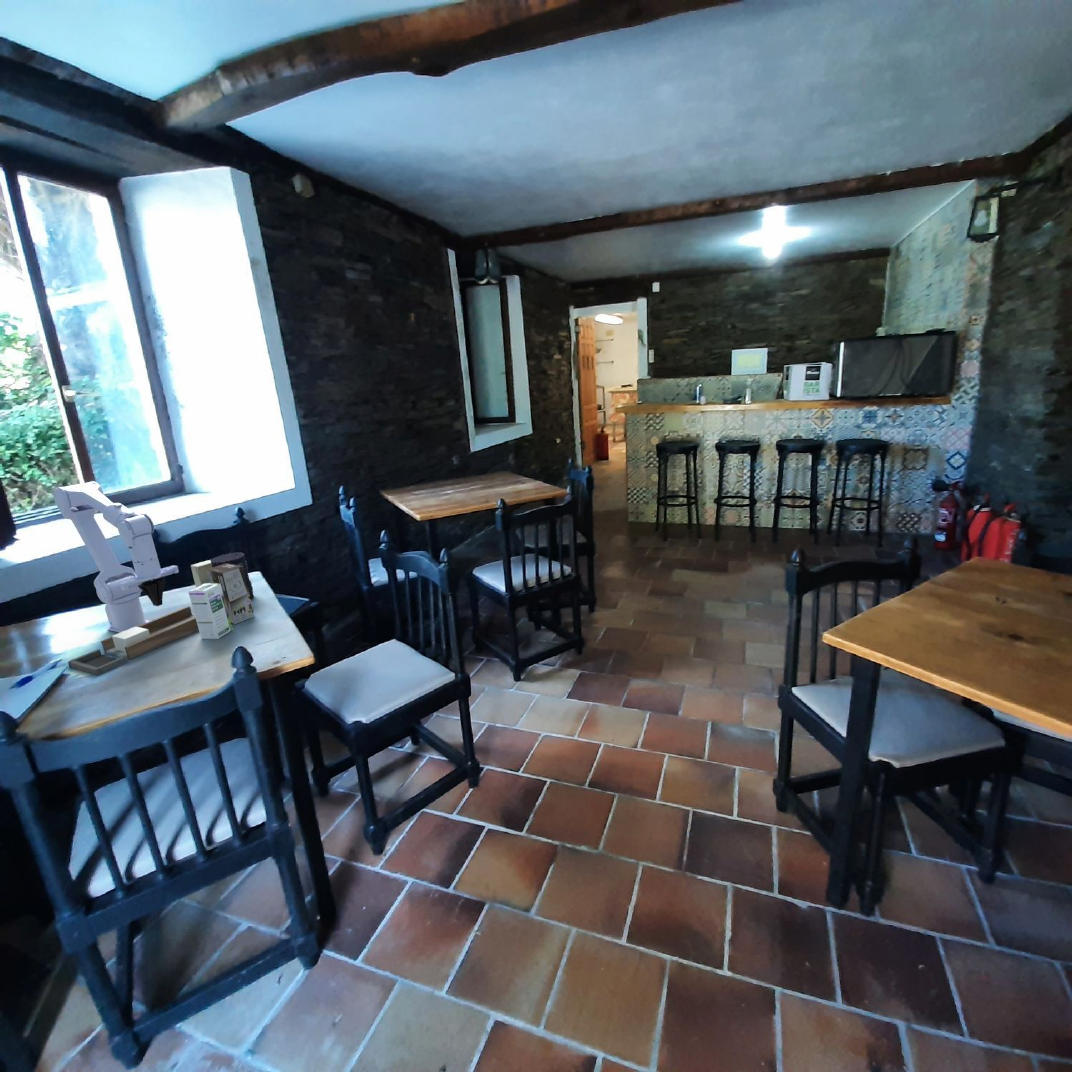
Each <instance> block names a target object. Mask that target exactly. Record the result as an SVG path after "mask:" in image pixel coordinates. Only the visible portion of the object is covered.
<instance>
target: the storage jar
mask: <svg viewBox="0 0 1072 1072" xmlns="http://www.w3.org/2000/svg"><path fill="white" fill-rule="evenodd" d="M245 555H246V554H245V553H243V552H238V551H237V552H229V553H225V554H224V553H223V554H220V555H218V556H217V555H216V556H215V557H212V558H210V560H211V563H212V568H214V567H216V566H219V565H222V564H225V563H228V564H234V565H239V566H243V569H244V573H245V578H246V582H247V586H248V591H249V595H250V599H251V601H253V599H255V595H254V591H253V590H254V589H253V585H252V581H251V580H250V577H249V576H250V575H249V566H248V563H247V560H246V556H245Z"/></svg>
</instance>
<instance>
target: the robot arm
mask: <svg viewBox="0 0 1072 1072" xmlns="http://www.w3.org/2000/svg"><path fill="white" fill-rule="evenodd" d="M53 501H54V504H55V505H56V507H57V509H58V510H59V512H60V514H61V515H62V517H63V519H66V520H71V522H72V524H73V526H74V527H75V529H76V531H77V533H78V535H79V536H80V538H81V540H82V541H83V544H84V545H85V548H86V549H87V551H88V552H89V555H91V557H92V559H93V561H94V563H95V565H96V566H97V568H98V570H99V573H98V575H97V576H96V578H95V579H94V580H93V586H94V587H95V590H96V595H97V597H98V598H99V600H100V601H101V602H102V603H104V604H105V606H104V607H105V608H104V611H105V614H106V617H107V621H108V624H109V627H107V628H106V629H107V631H110V632H111V631H112V632H116V633H121V632H123V631H126V630H128V629H131V628H133V627H137V626H140V625H142V624H145V623H147V622H150V621H151V620H148V619H146V618H145V617H146V616H145V614H144V610H143V606H142V604H141V603H142V602H141V600H140V596H141V595H142V594H141V593H144V594H145V595H146V596H147V597H148V598H149V601H150V602H151V604H152V606H155V607H159V606H162V605H163V599H164V598H163V596H164V590H165V586H166V584H167V579H166V578H164V577H167V576H169V575H170V576H171V575H172V574H178V573H179V572H180V571H179V566H178V565H170V566H166V567H163V568H161V565H160V562H159V558H158V554H157V551H156V547H155V544H154V539H153V536H152V534H154V532H155V525H154V522H153V520H152V518H151V517H150V516H149V515H148V514H147V513H136V512H134V511H133V510H131V509H130V508H128V507H127V506H125V505H124V504H122V503H120V502H113V501H111V500H110V499H109V498H108V497H107V496H106V495H105V494H104V491H103V488H102V486H101V485H100V484H99V483H98V482H96V481H94V480H90V481H89V482H83V483H79V484H78V483H77V484H72V485H66V486H58V487H55V488H54V490H53ZM98 512H100V513H102V518H103V519H104V520H105V521H106V522H108V523H109V524H111V525H112V526H113V527H114V528H116V529H117V531H118V533H119V535H120V536H121V539H122V540H123V542H124V545H125V546H126V547H128V550H129V555H130V557H131V558H130V559H131V562H132V565H133V567H129V566H125V565H122V564H120V562H119V560H118V558H117V557H116V555H115V553H114V551H113V549H112V547H111V545H110V544H109V542H108V541H107V538H106V537H105V535H104V533H103V532H102V530H101V528H100V526H99V524H98V522H97V520H96V518H95V515H96V514H98Z"/></svg>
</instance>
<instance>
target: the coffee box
mask: <svg viewBox="0 0 1072 1072" xmlns="http://www.w3.org/2000/svg"><path fill="white" fill-rule="evenodd" d="M207 574H208V578H209V582H210V583H218V584H221V587H222V591H223V595H224V599H225V603H226V606H227V610H228V614H229V618H230V621H231V624H234V625H236V624H239V623H242V622H244V621H246V620H249V619H251V618H254V617H255V612H254V608H253V605H252V604H253V603H252V600H251V599H250V595H249V591H248V586H247V582H246V578H245V573H244V569H243V566H239V565H234V564H228V563H225V564H222V565H219V566H216V567H214V568H211V569H208V570H207Z"/></svg>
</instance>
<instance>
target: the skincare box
mask: <svg viewBox="0 0 1072 1072" xmlns="http://www.w3.org/2000/svg"><path fill="white" fill-rule="evenodd" d="M190 568H191V572H192V577H193V581H194V585H195V588H197V587H199V586H201V585H203V584H207V583H210V582H209V578H208V574H207V570H208V569H211V568H212V563H211V559H209V560H208V559H207V560H205V561H200V562H198V563H194V564H190Z"/></svg>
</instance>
